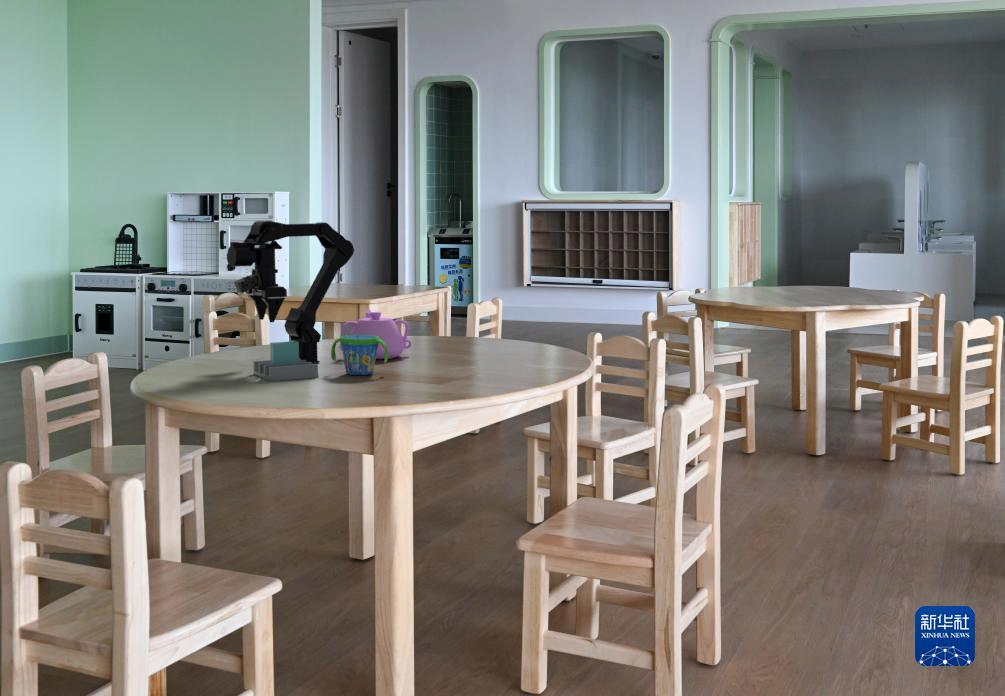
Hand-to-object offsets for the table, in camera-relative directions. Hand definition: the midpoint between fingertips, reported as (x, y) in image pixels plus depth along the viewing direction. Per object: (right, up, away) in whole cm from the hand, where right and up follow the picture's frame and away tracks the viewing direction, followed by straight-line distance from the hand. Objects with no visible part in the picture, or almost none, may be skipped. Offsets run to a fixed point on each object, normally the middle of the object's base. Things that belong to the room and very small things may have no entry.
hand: (266, 320), depth 308 cm
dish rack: (+9, -15, -16) cm, 24 cm away
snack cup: (+28, -15, -13) cm, 34 cm away
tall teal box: (+8, -14, -16) cm, 23 cm away
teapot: (+28, -11, +23) cm, 38 cm away
